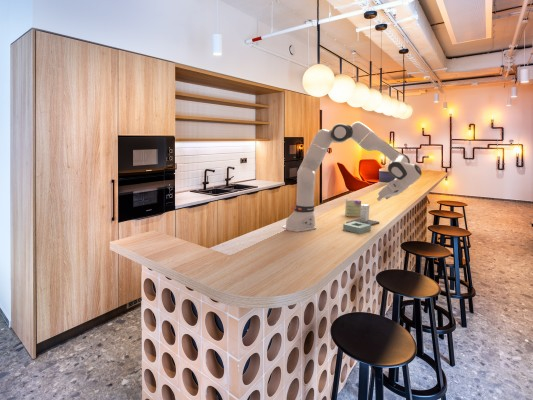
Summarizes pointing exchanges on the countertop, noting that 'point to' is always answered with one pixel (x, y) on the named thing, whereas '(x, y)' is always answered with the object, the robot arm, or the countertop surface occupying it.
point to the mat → (365, 223)
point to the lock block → (357, 227)
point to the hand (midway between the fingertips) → (382, 199)
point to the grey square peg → (364, 213)
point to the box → (353, 208)
